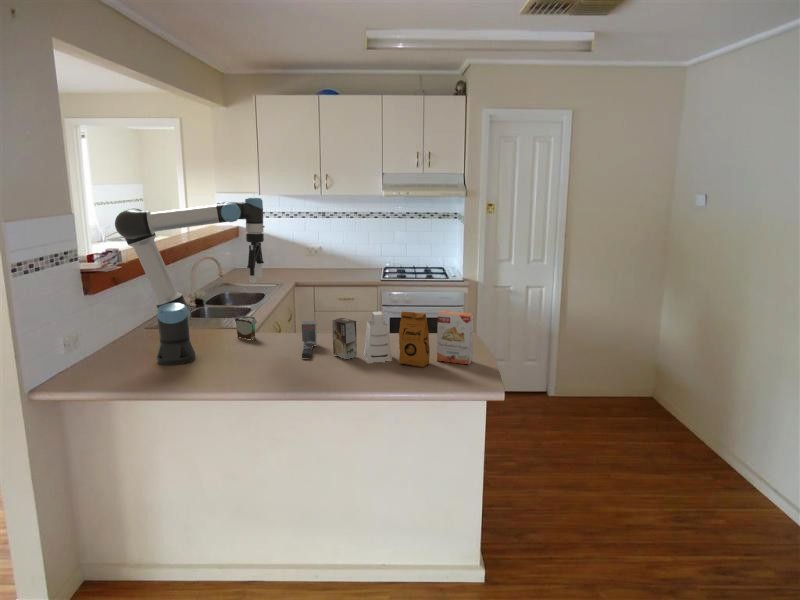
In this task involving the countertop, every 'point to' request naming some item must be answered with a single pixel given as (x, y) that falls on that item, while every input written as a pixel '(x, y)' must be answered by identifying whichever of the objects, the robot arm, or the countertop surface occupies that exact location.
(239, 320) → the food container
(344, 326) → the coffee box
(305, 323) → the red-striped grey cube
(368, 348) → the grater
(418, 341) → the coffee package
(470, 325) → the cracker box
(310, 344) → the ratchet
